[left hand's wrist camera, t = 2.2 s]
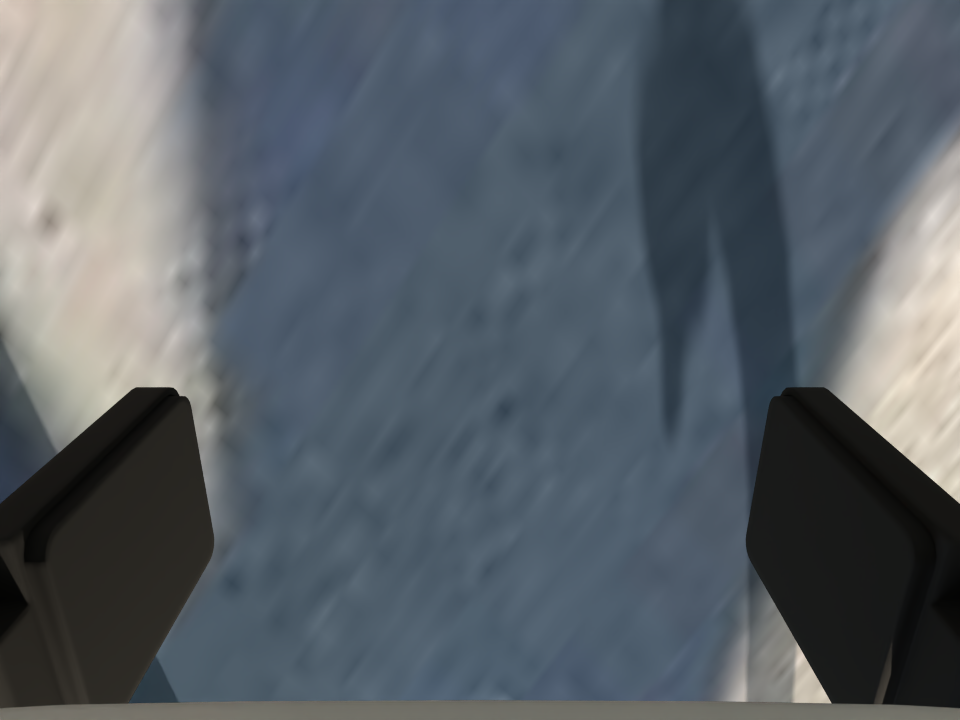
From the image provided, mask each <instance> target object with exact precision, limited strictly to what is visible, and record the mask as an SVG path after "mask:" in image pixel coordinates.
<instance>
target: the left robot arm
mask: <svg viewBox="0 0 960 720" xmlns="http://www.w3.org/2000/svg"><path fill="white" fill-rule="evenodd" d="M213 548H214V534H213V528H212V522H211V517H210V511H209V505H208V500H207V494H206V488H205V483H204V477H203V471H202V466H201V460H200V454H199V449H198V443H197V437H196V432H195V426H194V420H193V415H192V409H191V405H190V402H189V400H188V398H187V397H185V396H179V394H178V392H177V391H176V390H175V389H174V388H170V387H136V388H134V389H132V390H131V391H130V392H129V393H128V394H126V395H125V396H124V397H123V398H122V399H121V400H119V401H118V402H117V403H116V404H115V405H114V406H113V407H111V408H110V409H109V410H108V411H107V412H106V413H104V414H103V415H102V416H101V417H100V418H99V419H98V420H96V421H95V422H94V423H93V424H92V425H91V426H89V427H88V428H87V429H86V430H85V431H84V432H83V433H81V434H80V435H79V436H78V437H77V438H76V439H74V440H73V441H72V442H71V443H70V444H69V445H68V446H66V447H65V448H64V449H63V450H62V451H61V452H59V453H58V454H57V455H56V456H55V457H54V458H53V459H51V460H50V461H49V462H48V463H47V464H46V465H44V466H43V467H42V468H41V469H40V470H39V471H38V472H36V473H35V474H34V475H33V476H32V477H31V478H30V479H28V480H27V481H26V482H25V483H24V484H23V485H21V486H20V487H19V488H18V489H17V490H16V491H15V492H13V493H12V494H11V495H10V496H9V497H8V498H6V499H5V500H4V501H3V502H2V503H1V504H0V720H960V504H959V503H958V502H957V501H956V500H955V499H954V498H952V497H951V496H950V495H949V494H948V493H947V492H945V491H944V490H943V489H942V488H941V487H940V486H939V485H937V484H936V483H935V482H934V481H933V480H932V479H930V478H929V477H928V476H927V475H926V474H925V473H924V472H922V471H921V470H920V469H919V468H918V467H917V466H916V465H914V464H913V463H912V462H911V461H910V460H909V459H907V458H906V457H905V456H904V455H903V454H902V453H901V452H899V451H898V450H897V449H896V448H895V447H894V446H892V445H891V444H890V443H889V442H888V441H887V440H886V439H884V438H883V437H882V436H881V435H880V434H879V433H877V432H876V431H875V430H874V429H873V428H872V427H871V426H869V425H868V424H867V423H866V422H865V421H864V420H862V419H861V418H860V417H859V416H858V415H857V414H856V413H854V412H853V411H852V410H851V409H850V408H849V407H847V406H846V405H845V404H844V403H843V402H842V401H841V400H839V399H838V398H837V397H836V396H835V395H834V394H832V393H831V392H830V391H829V390H828V389H826V388H824V387H790V388H786V389H785V390H784V391H783V392H782V394H781V396H775V397H773V398H772V400H771V402H770V405H769V409H768V414H767V420H766V426H765V432H764V437H763V443H762V449H761V454H760V460H759V466H758V471H757V477H756V483H755V488H754V494H753V500H752V505H751V511H750V517H749V522H748V528H747V534H746V548H747V553H748V557H749V559H750V561H751V563H752V564H753V566H754V568H755V570H756V571H757V573H758V575H759V577H760V578H761V580H762V582H763V584H764V585H765V587H766V589H767V591H768V592H769V594H770V596H771V598H772V599H773V601H774V603H775V605H776V606H777V608H778V610H779V612H780V613H781V615H782V617H783V619H784V620H785V622H786V624H787V626H788V627H789V629H790V631H791V633H792V634H793V636H794V638H795V640H796V641H797V643H798V645H799V647H800V648H801V650H802V652H803V654H804V655H805V657H806V659H807V661H808V662H809V664H810V666H811V668H812V669H813V671H814V673H815V675H816V676H817V678H818V680H819V682H820V683H821V685H822V687H823V689H824V690H825V692H826V694H827V696H828V697H829V699H830V701H831V703H832V704H826V703H774V702H721V701H516V700H443V701H239V702H186V703H134V704H128V703H129V701H130V699H131V697H132V696H133V694H134V692H135V690H136V689H137V687H138V685H139V683H140V682H141V680H142V678H143V676H144V675H145V673H146V671H147V669H148V668H149V666H150V664H151V662H152V661H153V659H154V657H155V655H156V654H157V652H158V650H159V648H160V647H161V645H162V643H163V641H164V640H165V638H166V636H167V634H168V633H169V631H170V629H171V627H172V626H173V624H174V622H175V620H176V619H177V617H178V615H179V613H180V612H181V610H182V608H183V606H184V605H185V603H186V601H187V599H188V598H189V596H190V594H191V592H192V591H193V589H194V587H195V585H196V584H197V582H198V580H199V578H200V577H201V575H202V573H203V571H204V570H205V568H206V566H207V564H208V563H209V561H210V559H211V557H212V553H213Z"/></svg>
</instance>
